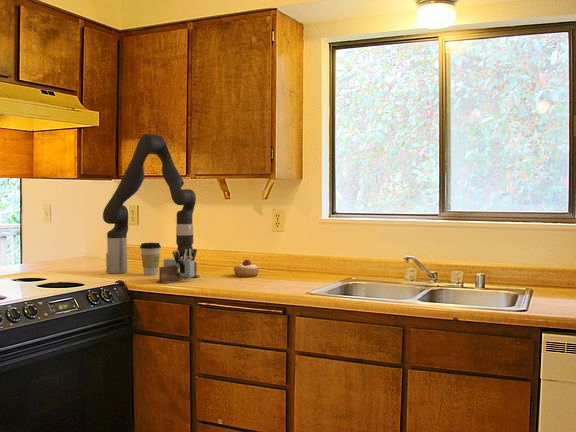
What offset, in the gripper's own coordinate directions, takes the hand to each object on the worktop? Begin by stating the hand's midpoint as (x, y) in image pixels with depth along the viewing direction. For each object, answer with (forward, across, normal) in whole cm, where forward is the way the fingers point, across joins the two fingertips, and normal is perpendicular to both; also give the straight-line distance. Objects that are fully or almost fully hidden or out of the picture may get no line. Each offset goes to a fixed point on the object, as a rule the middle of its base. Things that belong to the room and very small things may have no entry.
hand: (185, 272), depth 279 cm
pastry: (+4, -27, +14) cm, 31 cm away
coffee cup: (+4, -5, -27) cm, 28 cm away
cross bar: (+2, 0, -4) cm, 4 cm away
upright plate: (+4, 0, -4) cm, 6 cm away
